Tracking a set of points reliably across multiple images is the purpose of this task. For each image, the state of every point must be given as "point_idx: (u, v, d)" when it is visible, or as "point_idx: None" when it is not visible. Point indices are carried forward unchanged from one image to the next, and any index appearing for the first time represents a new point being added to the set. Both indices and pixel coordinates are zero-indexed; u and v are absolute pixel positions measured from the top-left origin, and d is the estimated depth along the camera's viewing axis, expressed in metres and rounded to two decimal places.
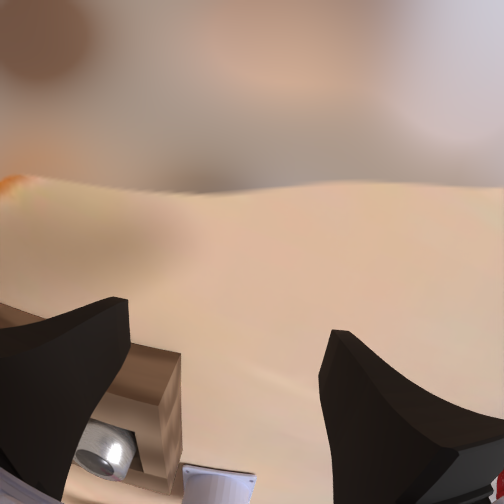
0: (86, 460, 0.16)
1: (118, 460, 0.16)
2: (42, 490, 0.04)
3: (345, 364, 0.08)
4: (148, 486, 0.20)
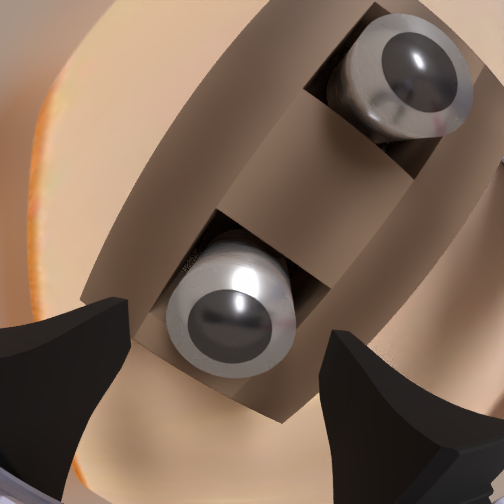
0: (413, 79, 0.08)
1: (414, 19, 0.08)
2: (42, 490, 0.04)
3: (345, 364, 0.08)
4: None
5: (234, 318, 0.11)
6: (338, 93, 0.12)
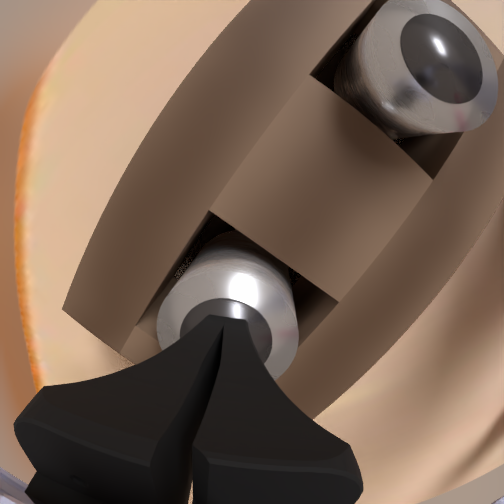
0: (435, 65, 0.07)
1: (433, 1, 0.06)
2: None
3: (221, 351, 0.08)
4: None
5: None
6: (348, 82, 0.10)
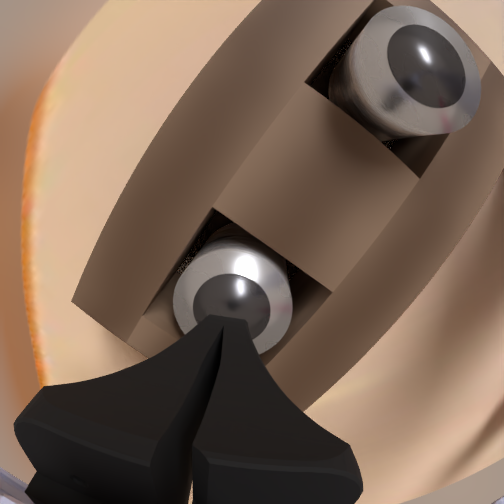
0: (420, 73, 0.08)
1: (420, 12, 0.07)
2: None
3: (221, 351, 0.08)
4: None
5: (236, 300, 0.12)
6: (341, 88, 0.11)
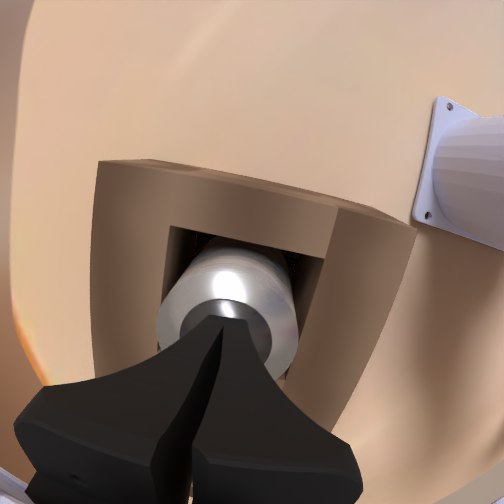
0: None
1: (198, 272, 0.10)
2: None
3: (221, 351, 0.08)
4: (386, 269, 0.12)
5: None
6: None
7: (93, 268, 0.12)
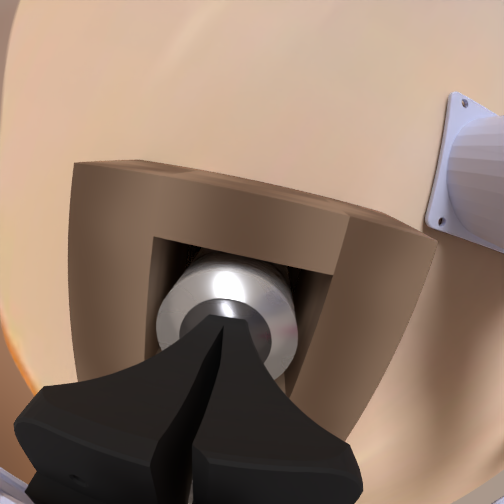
0: None
1: (198, 272, 0.10)
2: None
3: (221, 351, 0.08)
4: (402, 286, 0.10)
5: (192, 491, 0.14)
6: None
7: (71, 283, 0.11)
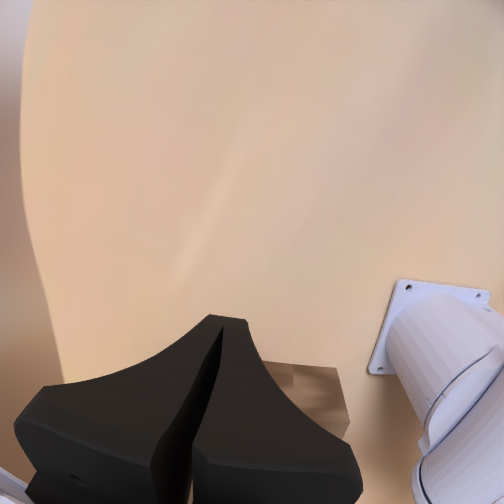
0: None
1: None
2: None
3: (221, 351, 0.08)
4: None
5: None
6: None
7: None
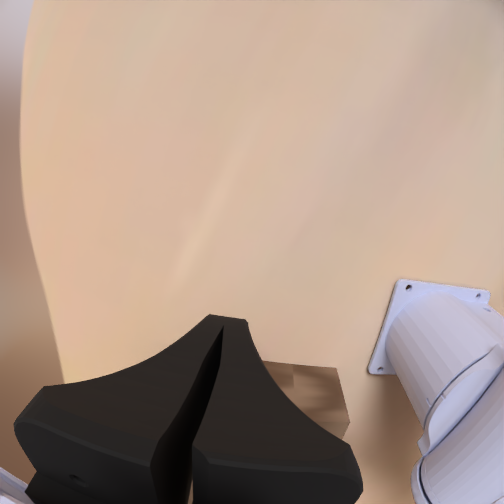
0: None
1: None
2: None
3: (221, 351, 0.08)
4: None
5: None
6: None
7: None
